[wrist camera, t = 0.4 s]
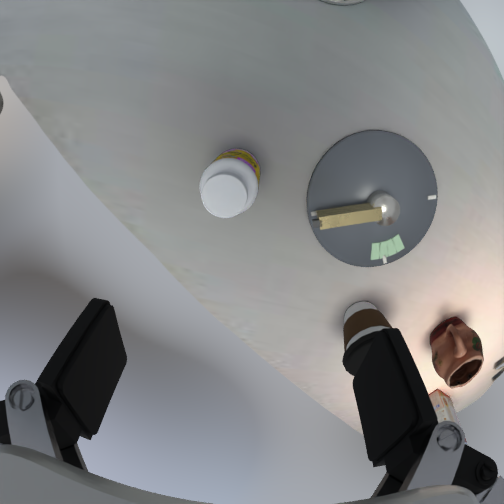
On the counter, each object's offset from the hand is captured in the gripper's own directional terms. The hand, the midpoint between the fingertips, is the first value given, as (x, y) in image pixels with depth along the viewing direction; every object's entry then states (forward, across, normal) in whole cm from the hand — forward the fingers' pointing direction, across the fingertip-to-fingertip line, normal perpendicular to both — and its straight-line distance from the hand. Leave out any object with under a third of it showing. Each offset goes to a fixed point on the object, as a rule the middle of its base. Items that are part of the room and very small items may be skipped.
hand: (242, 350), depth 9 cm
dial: (+33, -18, +3) cm, 38 cm away
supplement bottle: (+34, +3, +1) cm, 34 cm away
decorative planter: (+34, -46, +29) cm, 64 cm away
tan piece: (+32, -14, +4) cm, 35 cm away
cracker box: (+34, -65, +60) cm, 96 cm away
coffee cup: (+34, -22, +25) cm, 47 cm away
